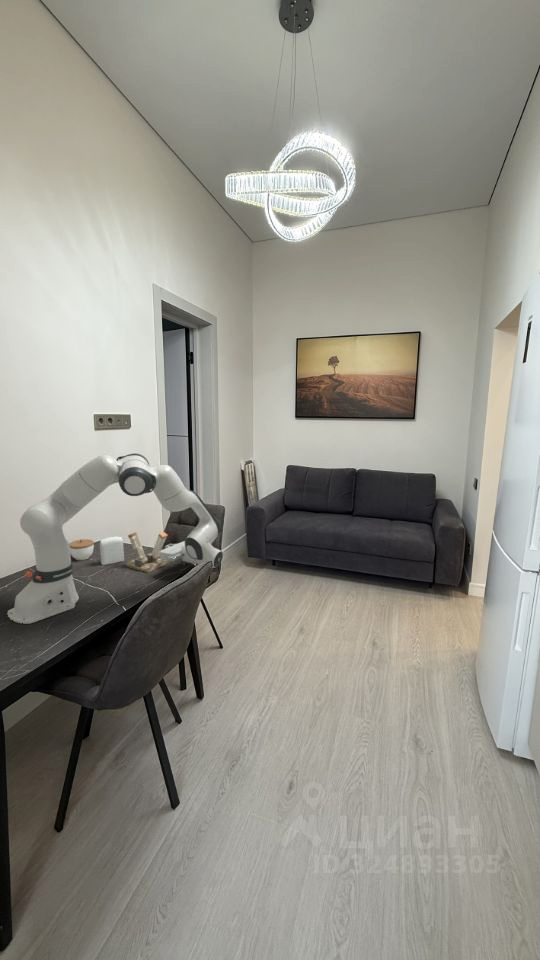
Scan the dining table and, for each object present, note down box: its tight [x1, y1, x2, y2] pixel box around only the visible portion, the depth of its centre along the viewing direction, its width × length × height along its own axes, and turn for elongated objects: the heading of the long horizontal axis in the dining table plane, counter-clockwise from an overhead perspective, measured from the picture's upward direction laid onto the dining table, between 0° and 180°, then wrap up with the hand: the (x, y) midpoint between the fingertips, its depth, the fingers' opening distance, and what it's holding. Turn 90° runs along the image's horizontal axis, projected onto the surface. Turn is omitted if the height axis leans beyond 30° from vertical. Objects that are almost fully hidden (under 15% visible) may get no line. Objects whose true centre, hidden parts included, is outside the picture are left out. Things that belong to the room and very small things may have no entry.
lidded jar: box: [69, 538, 95, 561], centre depth 183 cm, size 11×11×9 cm
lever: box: [150, 531, 168, 559], centre depth 177 cm, size 4×3×15 cm, turn 150°
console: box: [125, 532, 172, 573], centre depth 177 cm, size 16×14×16 cm
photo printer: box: [99, 536, 125, 566], centre depth 178 cm, size 10×4×12 cm, turn 124°
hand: (167, 546), depth 174 cm, fingers closed
